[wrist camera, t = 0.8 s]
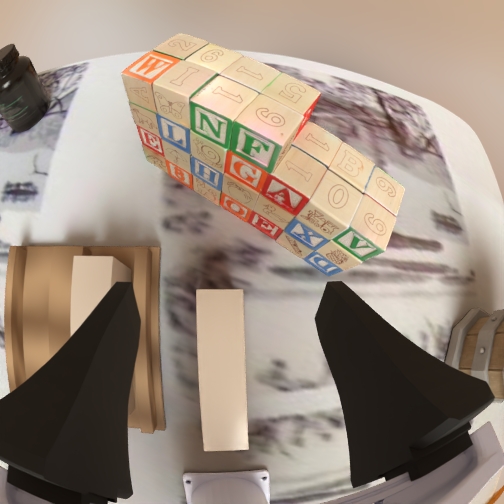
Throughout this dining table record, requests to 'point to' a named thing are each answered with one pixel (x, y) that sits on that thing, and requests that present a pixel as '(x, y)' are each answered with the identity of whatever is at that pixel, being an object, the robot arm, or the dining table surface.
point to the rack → (59, 310)
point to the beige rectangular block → (222, 369)
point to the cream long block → (95, 290)
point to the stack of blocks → (260, 151)
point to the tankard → (480, 348)
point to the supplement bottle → (20, 91)
